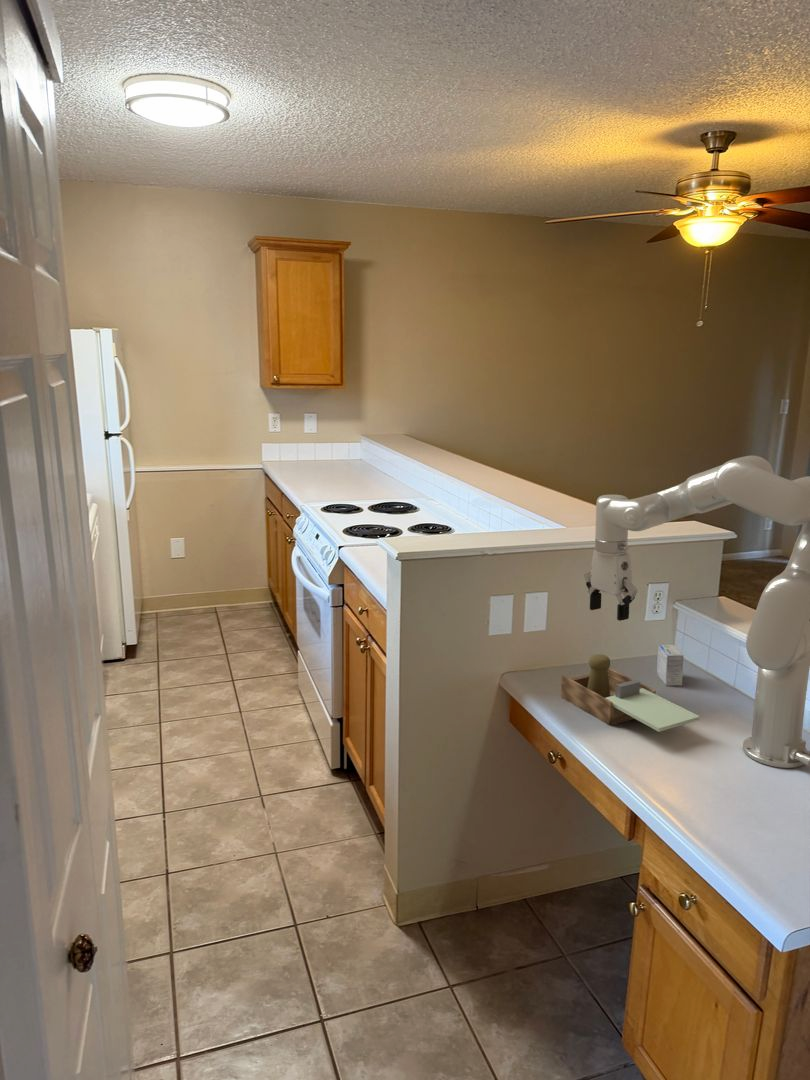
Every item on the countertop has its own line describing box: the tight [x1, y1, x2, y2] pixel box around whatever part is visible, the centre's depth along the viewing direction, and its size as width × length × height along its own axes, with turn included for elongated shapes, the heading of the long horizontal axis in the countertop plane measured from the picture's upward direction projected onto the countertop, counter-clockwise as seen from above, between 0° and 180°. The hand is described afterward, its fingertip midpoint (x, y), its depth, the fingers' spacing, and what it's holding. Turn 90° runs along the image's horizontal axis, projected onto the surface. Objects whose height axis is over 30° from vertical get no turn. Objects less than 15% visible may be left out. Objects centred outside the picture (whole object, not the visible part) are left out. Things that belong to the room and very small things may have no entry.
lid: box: [606, 679, 701, 733], centre depth 173 cm, size 18×12×4 cm
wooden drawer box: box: [560, 667, 656, 726], centre depth 187 cm, size 18×14×6 cm
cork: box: [587, 653, 611, 698], centre depth 189 cm, size 6×6×11 cm
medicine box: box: [656, 644, 684, 687], centre depth 201 cm, size 8×4×9 cm, turn 179°
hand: (608, 614), depth 185 cm, fingers open, 9 cm apart
